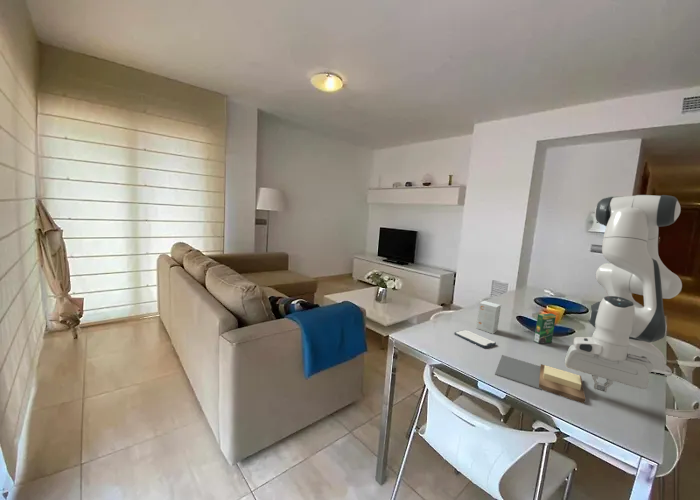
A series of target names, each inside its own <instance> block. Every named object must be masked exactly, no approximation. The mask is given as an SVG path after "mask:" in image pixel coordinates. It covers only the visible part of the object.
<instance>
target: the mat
mask: <svg viewBox="0 0 700 500" xmlns="http://www.w3.org/2000/svg"><path fill="white" fill-rule="evenodd" d="M500 356H501V357H500V360H499V362H498V365H497V368H496V370H495V372H494V375H495V376H498V377H500V378H504V379H507V380H510V381H513V382H515V383H518V384H519V383H520V384H521V385H525V386H527V387H531V388H533V389H537V390H539V391H540V390H541V391H543V390H542V388H539V379H540V367H541V365H537V364H534V363H531V362H528V361H524V360H520V359H517V358H514V357H511V356H507V355H504V354H502V355H500Z"/></svg>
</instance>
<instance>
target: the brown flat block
mask: <svg viewBox="0 0 700 500" xmlns="http://www.w3.org/2000/svg"><path fill="white" fill-rule="evenodd" d="M540 366H541V367H540V379H539V388H542V390H541V391H545V392H548V393H551V394H553V395H554V394H555V395H557V396H559V397H563V398H566V399H569V400H572V401H575V402H578V403H580V404H585V403H586V396H585V389H584V385H583V379H582V375H580V380H581V389H580V390H577V389H574V388H571V387H568V386H565V385H561V384H558V383H555V382H552V381H549V380H546V379H543V376H544V367H545V364H540Z"/></svg>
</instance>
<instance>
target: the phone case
mask: <svg viewBox="0 0 700 500" xmlns="http://www.w3.org/2000/svg"><path fill="white" fill-rule="evenodd" d="M453 335H455V336H457V337H459V338H461V339H463V340H465V341H467V342H469V343H471V344H473V345H475V344H476V345H475V346H477V347H480V348H482V349H485V350H486V349H489V348H490V349H491V348H493V347H495V346H496V345H497V343H496V341H494V340H492V339H489V338H487V337H484V336H482V335H479V334H477V333H475V332H472V331H470V330H467V329H462V330H458V331H455V332H454V333H453Z"/></svg>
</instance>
